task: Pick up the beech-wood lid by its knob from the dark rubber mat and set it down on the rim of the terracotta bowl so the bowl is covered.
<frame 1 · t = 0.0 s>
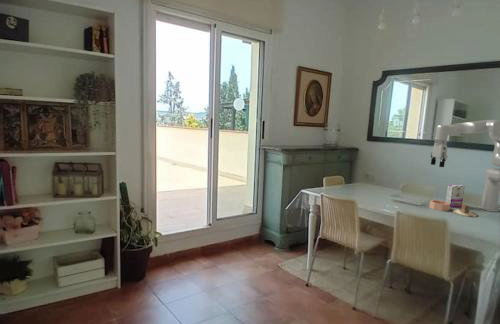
hand: (437, 165, 232), 31 cm above the table, fingers open, 9 cm apart
lid: (464, 213, 224), resting on mat
mat: (464, 214, 224), on the table
bowl: (439, 208, 234), on the table
candy bar box: (453, 206, 242), on the table
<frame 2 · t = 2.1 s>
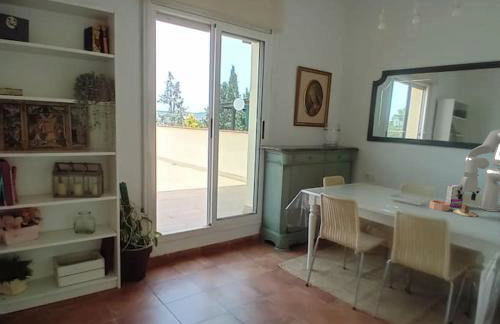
hand: (466, 199, 222), 11 cm above the table, fingers open, 9 cm apart
nothing on the table moved.
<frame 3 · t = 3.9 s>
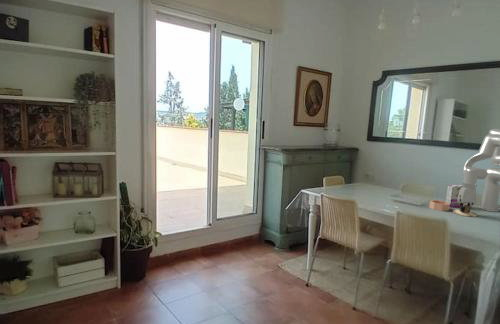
hand: (464, 211, 224), 2 cm above the table, fingers closed on lid, 3 cm apart
lid: (464, 213, 224), resting on mat, touching gripper
everything else where it was.
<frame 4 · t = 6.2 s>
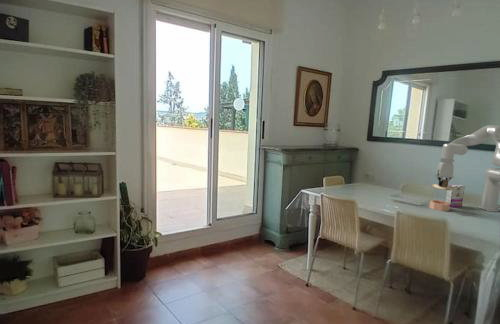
hand: (442, 186, 231), 17 cm above the table, fingers closed on lid, 3 cm apart
lid: (442, 187, 231), point 16 cm above the table, touching gripper
everything else where it was.
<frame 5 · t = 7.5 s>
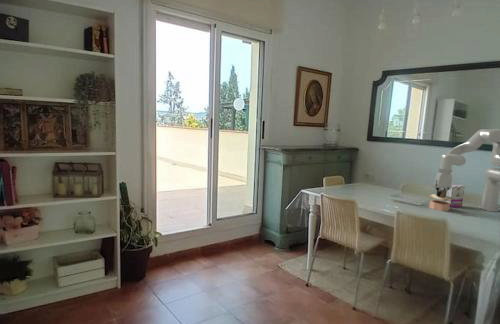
hand: (441, 196, 232), 10 cm above the table, fingers closed on lid, 3 cm apart
lid: (440, 198, 233), point 8 cm above the table, touching gripper
everything else where it was.
when the fingers open (8 cm above the table, at t = 8.5 s): lid drops 2 cm, resting on bowl.
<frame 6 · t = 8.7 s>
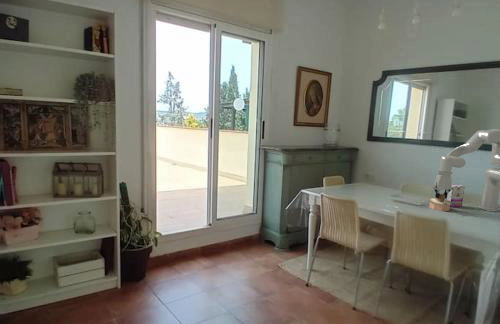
hand: (440, 198, 233), 8 cm above the table, fingers open, 5 cm apart
lid: (440, 202, 233), point 5 cm above the table, touching bowl
everything else where it was.
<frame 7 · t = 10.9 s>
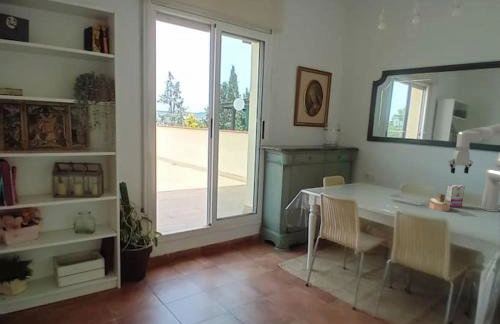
hand: (459, 173, 228), 28 cm above the table, fingers open, 9 cm apart
nothing on the table moved.
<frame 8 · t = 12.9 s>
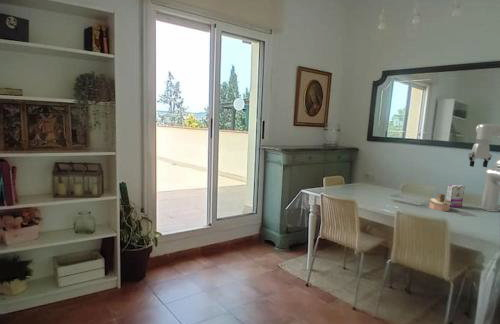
hand: (478, 166, 224), 33 cm above the table, fingers open, 9 cm apart
nothing on the table moved.
at the end: lid 0.1 cm off-centre on the bowl, point 5.0 cm above the bowl's base; lid tilted 0°; the gripper is holding nothing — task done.
